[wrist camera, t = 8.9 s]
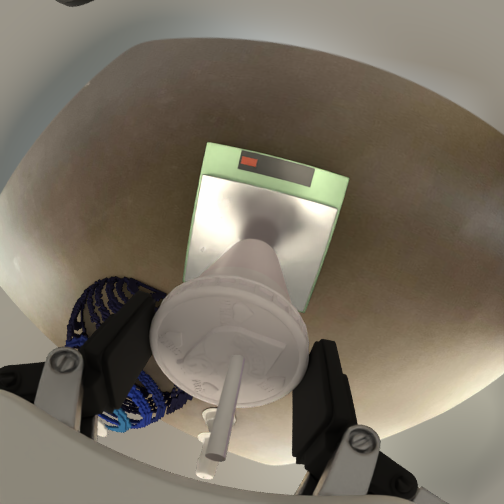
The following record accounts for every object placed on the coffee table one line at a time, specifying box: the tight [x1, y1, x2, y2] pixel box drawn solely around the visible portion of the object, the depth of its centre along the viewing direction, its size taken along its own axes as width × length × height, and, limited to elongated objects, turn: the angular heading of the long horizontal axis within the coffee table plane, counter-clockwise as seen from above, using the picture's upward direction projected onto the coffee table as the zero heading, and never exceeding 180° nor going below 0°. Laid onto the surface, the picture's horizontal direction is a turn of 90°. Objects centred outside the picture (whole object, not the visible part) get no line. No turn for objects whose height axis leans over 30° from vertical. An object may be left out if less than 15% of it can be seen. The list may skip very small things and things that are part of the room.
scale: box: [183, 142, 349, 313], centre depth 24 cm, size 13×12×3 cm
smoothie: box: [149, 239, 309, 462], centre depth 12 cm, size 6×6×14 cm
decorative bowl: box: [65, 276, 193, 437], centre depth 26 cm, size 20×20×14 cm
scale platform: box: [185, 174, 338, 311], centre depth 22 cm, size 10×11×1 cm
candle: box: [196, 408, 236, 479], centre depth 31 cm, size 5×5×12 cm
